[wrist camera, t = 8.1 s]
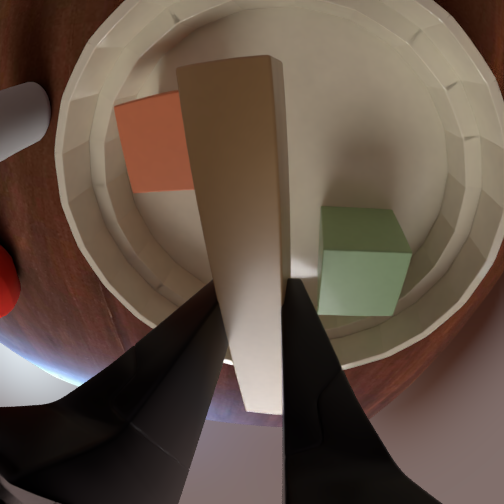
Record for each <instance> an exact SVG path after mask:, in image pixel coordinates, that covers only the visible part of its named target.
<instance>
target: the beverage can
mask: <svg viewBox="0 0 504 504" xmlns="http://www.w3.org/2000/svg"><path fill="white" fill-rule="evenodd" d="M50 118H51V106H50V101H49V98H48V96H47V94H46V92H45V90H44V89H43V88H42V87H41V86H40V85H39V84H37V83H35V82H27V83H23V84H20V85H17V86H13V87H10V88H7V89H4V90H1V91H0V162H1V161H2V160H4V159H6V158H8V157H9V156H11V155H13V154H15V153H16V152H18V151H20V150H22V149H24V148H26V147H28V146H30V145H31V144H33V143H35V142H37V141H39V140H41V138H42V137H43V136H44V134H45V133H46V130H47V128H48V125H49V122H50Z"/></svg>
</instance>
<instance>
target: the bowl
mask: <svg viewBox="0 0 504 504" xmlns="http://www.w3.org/2000/svg"><path fill="white" fill-rule="evenodd" d="M256 55H270V56H272V57H274V58H276V59H278V60H280V61H281V62H282V63H283V76H284V89H285V105H286V122H287V141H288V164H289V193H290V242H291V278H299V279H301V280H302V282H303V284H304V286H305V288H306V290H307V293H308V295H309V297H310V299H311V301H312V303H313V305H314V307H315V309H316V312H317V287H318V266H317V265H318V250H319V231H320V207H321V206H332V207H355V208H375V209H391V210H393V212H394V214H395V216H396V218H397V220H398V222H399V224H400V226H401V228H402V231H403V233H404V235H405V237H406V239H407V241H408V243H409V246H410V248H411V250H412V257H411V260H410V264H409V267H408V271H407V274H406V277H405V281H404V284H403V287H402V290H401V293H400V296H399V299H398V302H397V305H396V308H395V311H394V313H393V316H341V315H318V316H319V318H320V320H321V322H322V324H323V327H324V329H325V331H326V333H327V335H328V337H329V340H330V342H331V344H332V346H333V348H334V351H335V353H336V355H337V357H338V360H339V362H340V364H341V366H342V370H344V369H349V368H353V367H356V366H360V365H363V364H367V363H370V362H373V361H377V360H380V359H383V358H386V357H389V356H391V355H393V354H395V353H397V352H399V351H401V350H403V349H405V348H406V347H408V346H410V345H412V344H414V343H416V342H418V341H419V340H421V339H423V338H425V337H427V336H428V335H429V334H430V333H432V332H433V331H434V330H435V329H437V328H438V327H439V326H440V325H441V324H443V323H444V322H445V321H446V320H447V319H448V318H450V317H451V316H452V315H453V314H454V313H455V312H456V311H457V310H459V309H460V308H461V307H462V306H463V305H464V304H465V303H466V301H467V300H468V299H469V297H470V296H471V295H472V293H473V292H474V291H475V289H476V288H477V286H478V285H479V284H480V282H481V281H482V279H483V278H484V276H485V275H486V273H487V272H488V270H489V269H490V267H491V266H492V264H493V262H494V261H495V258H496V256H497V253H498V251H499V248H500V245H501V243H502V240H503V237H504V101H503V98H502V95H501V92H500V89H499V86H498V83H497V81H496V78H495V76H494V75H493V73H492V71H491V70H490V68H489V66H488V65H487V63H486V62H485V60H484V59H483V57H482V56H481V54H480V53H479V51H478V50H477V48H476V47H475V45H474V44H473V42H472V41H471V40H470V38H469V37H468V36H467V34H466V33H465V32H464V30H463V29H462V28H461V26H460V25H459V24H458V23H457V21H456V20H455V19H454V18H453V17H452V15H450V14H449V13H448V12H447V11H446V10H445V9H443V8H442V7H441V6H440V5H438V4H437V3H436V2H435V1H433V0H125V1H124V2H123V3H122V4H121V5H120V6H119V7H118V8H117V9H116V10H115V11H114V12H113V13H112V14H111V15H110V16H109V17H108V18H107V19H106V20H105V22H104V23H103V24H102V25H101V26H100V27H99V28H98V29H97V31H96V32H95V33H94V34H93V35H92V37H91V38H90V39H89V40H88V42H87V44H86V46H85V47H84V49H83V51H82V53H81V55H80V57H79V59H78V61H77V64H76V66H75V68H74V70H73V72H72V74H71V77H70V79H69V81H68V83H67V86H66V88H65V91H64V93H63V96H62V99H61V105H60V111H59V117H58V124H57V132H56V140H55V150H54V151H55V153H54V154H55V164H56V172H57V180H58V187H59V193H60V199H61V202H62V203H61V204H62V207H63V210H64V213H65V215H66V218H67V220H68V223H69V226H70V228H71V231H72V233H73V235H74V238H75V240H76V243H77V245H78V247H79V249H80V251H81V252H82V254H83V255H84V257H85V258H86V260H87V261H88V263H89V264H90V266H91V267H92V269H93V270H94V272H95V273H96V274H97V276H98V277H99V279H100V280H101V282H102V283H103V284H104V286H105V287H106V288H107V289H108V290H109V291H110V292H111V293H112V294H113V295H114V296H115V297H116V298H117V299H118V300H119V301H120V302H121V303H122V304H123V305H124V306H125V307H126V308H127V309H128V310H129V311H130V312H131V313H133V314H134V315H135V316H136V317H137V318H138V319H140V320H141V321H143V322H144V323H145V324H147V325H148V326H150V327H151V328H153V329H154V328H155V327H156V326H158V325H159V324H160V323H161V322H162V321H163V320H165V319H166V318H167V317H168V316H169V315H171V314H172V313H173V312H174V311H175V310H177V309H178V308H179V307H180V306H181V305H182V304H184V303H185V302H186V301H187V300H188V299H190V298H191V297H192V296H193V295H194V294H196V293H197V292H198V291H199V290H200V289H202V288H203V287H204V286H205V285H206V284H207V283H209V282H210V281H211V280H212V279H213V278H212V274H211V269H210V265H209V260H208V255H207V251H206V246H205V241H204V236H203V231H202V226H201V221H200V216H199V211H198V206H197V201H196V195H195V190H180V191H162V192H147V193H133V191H132V187H131V183H130V179H129V175H128V171H127V167H126V163H125V159H124V155H123V150H122V146H121V141H120V137H119V132H118V127H117V122H116V117H115V112H114V106H116V105H119V104H122V103H125V102H129V101H132V100H136V99H139V98H143V97H147V96H151V95H155V94H159V93H164V92H169V91H174V90H178V84H177V76H176V68H177V67H179V66H184V65H189V64H195V63H200V62H206V61H213V60H220V59H227V58H235V57H245V56H256ZM223 363H227V364H231V365H233V362H232V358H231V354H230V350H229V346H228V349H227V352H226V356H225V359H224V362H223Z"/></svg>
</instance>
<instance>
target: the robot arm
mask: <svg viewBox="0 0 504 504" xmlns="http://www.w3.org/2000/svg"><path fill="white" fill-rule="evenodd" d="M228 344H229V343H228V339H227V335H226V331H225V327H224V323H223V318H222V314H221V310H220V306H219V302H218V300H217V296H216V292H215V287H214V283H213V279H212V280H211V281H210V282H209V283H207V284H206V285H205V286H204V287H203V288H202V289H200V290H199V291H198V292H197V293H196V294H194V295H193V296H192V297H191V298H190V299H188V300H187V301H186V302H185V303H184V304H182V305H181V306H180V307H179V308H178V309H177V310H175V311H174V312H173V313H172V314H171V315H169V316H168V317H167V318H166V319H165V320H163V321H162V322H161V323H160V324H159V325H158V326H156V327H155V328H154V329H153V330H152V331H150V332H149V333H148V334H147V335H146V336H144V337H143V338H142V339H141V340H140V341H139V342H137V343H136V344H135V346H132V347H131V348H130V349H129V350H128V351H127V352H125V353H124V354H123V355H122V356H120V357H119V358H118V359H117V360H116V361H114V362H113V363H112V364H111V365H109V366H108V367H106V368H105V369H104V370H102V371H101V372H99V373H98V374H97V375H95V376H94V377H92V378H91V379H89V380H88V381H87V382H85V383H84V384H82V385H81V386H79V387H78V388H76V389H75V390H74V391H72V392H70V393H69V394H68V395H66V396H64V397H63V398H61V399H59V400H57V401H55V402H52V403H49V404H43V405H32V406H16V407H0V504H178V503H179V500H180V497H181V494H182V491H183V487H184V485H185V481H186V478H187V475H188V472H189V468H190V465H191V462H192V459H193V456H194V453H195V450H196V447H197V444H198V440H199V437H200V434H201V431H202V428H203V425H204V422H205V419H206V416H207V412H208V409H209V406H210V403H211V400H212V397H213V394H214V390H215V387H216V384H217V381H218V378H219V375H220V371H221V368H222V365H223V362H224V359H225V356H226V352H227V349H228ZM281 355H282V418H283V473H282V475H283V476H282V477H283V479H282V484H283V486H282V504H442V503H441V502H439V501H438V500H436V499H435V498H434V497H433V496H431V495H430V494H428V493H427V492H426V491H425V490H423V489H422V488H421V487H420V486H418V485H417V484H416V483H414V482H413V481H412V480H411V479H409V478H408V477H407V476H406V475H405V474H404V473H403V472H402V471H401V469H400V468H399V467H398V466H397V464H396V463H395V462H394V460H393V459H392V457H391V456H390V454H389V452H388V451H387V449H386V447H385V446H384V444H383V442H382V441H381V439H380V438H379V436H378V434H377V433H376V431H375V429H374V428H373V426H372V425H371V423H370V421H369V420H368V418H367V416H366V414H365V413H364V411H363V409H362V407H361V406H360V404H359V402H358V400H357V398H356V396H355V394H354V392H353V390H352V388H351V386H350V384H349V382H348V379H347V377H346V375H345V373H344V371H343V370H342V366H341V364H340V362H339V360H338V357H337V355H336V353H335V351H334V348H333V346H332V344H331V342H330V340H329V337H328V335H327V333H326V331H325V329H324V327H323V324H322V322H321V320H320V318H319V316H318V314H317V312H316V309H315V307H314V305H313V303H312V301H311V299H310V297H309V295H308V293H307V290H306V288H305V286H304V284H303V282H302V280H301V279H299V278H288V280H287V286H286V292H285V298H284V304H283V305H282V306H281Z"/></svg>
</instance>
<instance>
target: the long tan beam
mask: <svg viewBox="0 0 504 504" xmlns="http://www.w3.org/2000/svg"><path fill="white" fill-rule="evenodd" d="M176 76H177V84H178V91H179V98H180V105H181V112H182V119H183V125H184V131H185V138H186V144H187V150H188V156H189V162H190V168H191V173H192V179H193V184H194V190H195V195H196V201H197V206H198V211H199V216H200V221H201V226H202V231H203V236H204V241H205V246H206V251H207V255H208V260H209V265H210V269H211V274H212V278H213V283H214V287H215V292H216V296H217V300H218V302H219V306H220V310H221V314H222V318H223V323H224V327H225V331H226V335H227V339H228V343H229V344H228V346H229V350H230V354H231V358H232V362H233V366H234V369H235V373H236V377H237V381H238V384H239V388H240V392H241V395H242V399H243V403H244V406H245V410H246V411H249V412H257V413H266V414H277V415H282V355H281V306H282V305H283V304H284V298H285V292H286V286H287V280H288V278H291V242H290V193H289V164H288V141H287V122H286V105H285V89H284V76H283V63H282V62H281V61H280V60H278V59H276V58H274V57H272V56H270V55H256V56H245V57H235V58H227V59H220V60H213V61H206V62H200V63H195V64H189V65H184V66H179V67H177V68H176Z"/></svg>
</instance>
